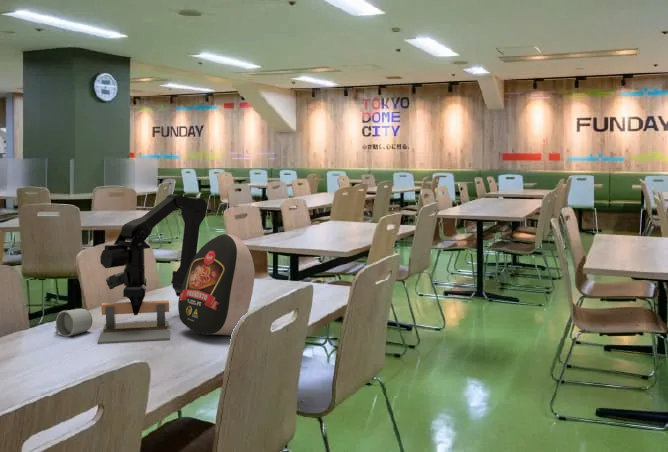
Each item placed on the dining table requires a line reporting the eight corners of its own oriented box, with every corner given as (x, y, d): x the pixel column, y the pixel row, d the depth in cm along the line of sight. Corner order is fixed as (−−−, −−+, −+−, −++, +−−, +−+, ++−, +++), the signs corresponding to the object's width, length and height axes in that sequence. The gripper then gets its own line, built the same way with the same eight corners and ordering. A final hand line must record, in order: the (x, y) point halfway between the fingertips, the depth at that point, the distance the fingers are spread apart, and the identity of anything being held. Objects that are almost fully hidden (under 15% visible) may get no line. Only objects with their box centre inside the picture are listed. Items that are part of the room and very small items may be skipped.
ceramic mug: (95, 332, 209) (94, 307, 208) (73, 338, 201) (72, 312, 201) (69, 328, 213) (68, 304, 213) (48, 334, 206) (47, 309, 205)
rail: (169, 309, 217) (168, 300, 217) (169, 311, 214) (169, 302, 214) (102, 312, 212) (102, 303, 212) (101, 314, 209) (101, 305, 209)
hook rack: (167, 323, 219) (167, 300, 219) (167, 329, 213) (167, 305, 212) (105, 326, 215) (104, 303, 214) (103, 332, 208) (102, 308, 207)
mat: (169, 331, 210) (169, 329, 210) (169, 339, 201) (169, 337, 201) (100, 334, 206) (100, 332, 205) (97, 343, 196) (97, 341, 196)
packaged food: (168, 332, 209) (166, 234, 205) (219, 321, 223) (218, 229, 220) (214, 346, 194) (213, 241, 191) (265, 333, 209) (265, 235, 206)
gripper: (109, 260, 219) (111, 308, 220) (104, 270, 201) (106, 322, 202) (146, 259, 221) (147, 306, 223) (144, 268, 203) (145, 320, 205)
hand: (136, 313), depth 213 cm, fingers closed on rail, 3 cm apart
